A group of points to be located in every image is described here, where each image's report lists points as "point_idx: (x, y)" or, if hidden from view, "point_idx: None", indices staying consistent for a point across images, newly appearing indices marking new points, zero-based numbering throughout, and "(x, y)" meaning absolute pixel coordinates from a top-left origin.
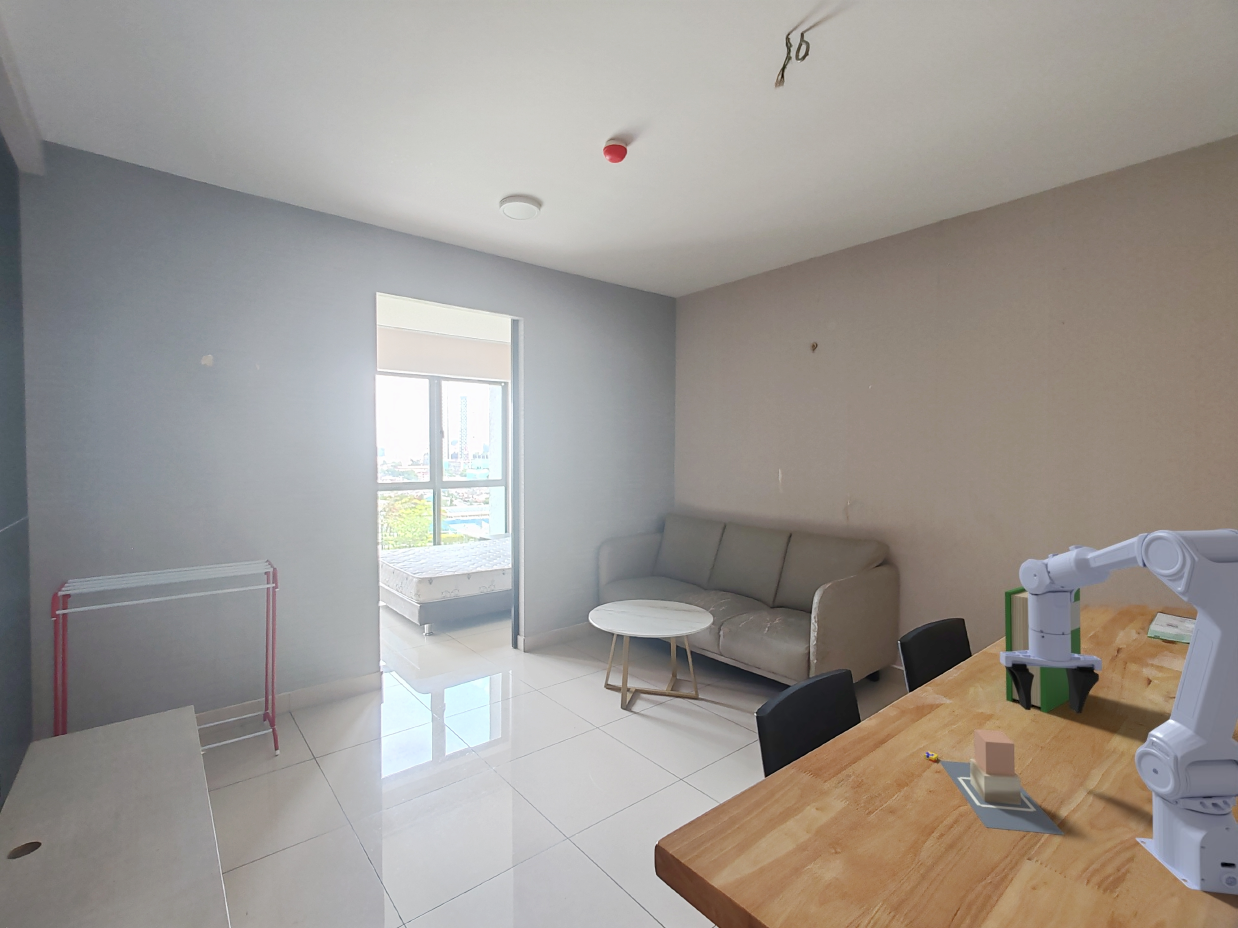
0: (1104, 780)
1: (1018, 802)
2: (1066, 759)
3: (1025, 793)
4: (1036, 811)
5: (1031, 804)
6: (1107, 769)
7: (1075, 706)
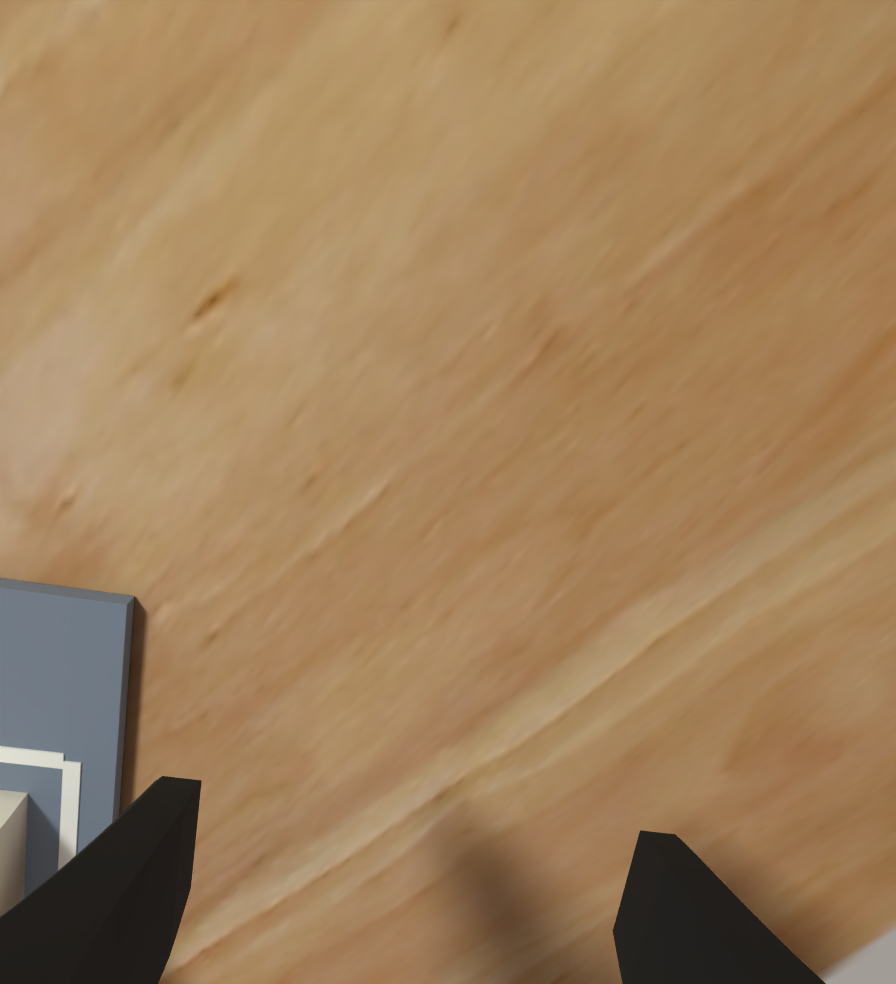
0: (616, 695)
1: None
2: (588, 495)
3: None
4: None
5: None
6: (727, 596)
7: (635, 950)
